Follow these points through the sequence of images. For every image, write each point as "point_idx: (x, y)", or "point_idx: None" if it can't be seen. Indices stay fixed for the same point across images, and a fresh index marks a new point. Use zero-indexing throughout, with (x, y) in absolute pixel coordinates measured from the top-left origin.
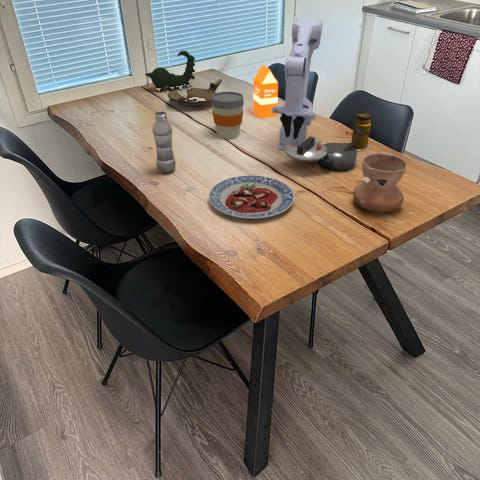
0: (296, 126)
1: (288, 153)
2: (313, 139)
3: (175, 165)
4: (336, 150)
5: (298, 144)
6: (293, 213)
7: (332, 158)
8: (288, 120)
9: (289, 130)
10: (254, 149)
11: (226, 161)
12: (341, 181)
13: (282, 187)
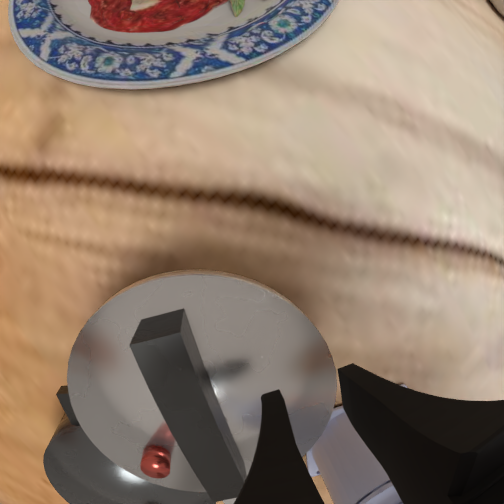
0: (266, 486)
1: (248, 282)
2: (203, 486)
3: (500, 5)
4: (127, 489)
5: None
6: (6, 15)
7: (76, 429)
8: (425, 483)
9: (365, 429)
10: (464, 305)
11: (474, 140)
12: (10, 342)
13: (100, 57)
